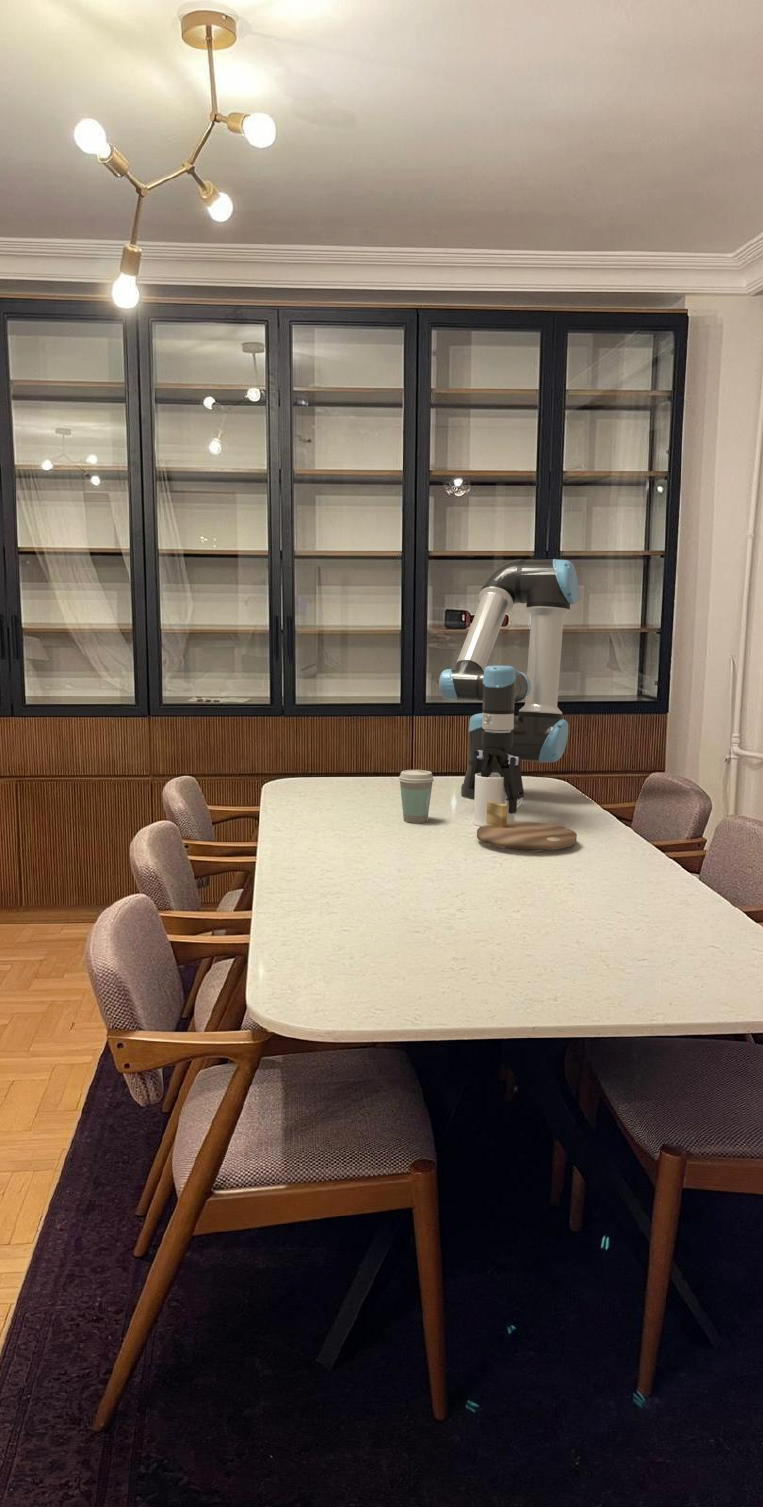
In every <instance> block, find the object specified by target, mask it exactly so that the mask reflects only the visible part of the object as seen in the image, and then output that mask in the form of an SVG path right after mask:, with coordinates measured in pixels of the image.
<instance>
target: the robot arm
mask: <svg viewBox="0 0 763 1507" xmlns="http://www.w3.org/2000/svg"><path fill="white" fill-rule="evenodd" d="M578 579H579V578H578V574H577V571H576V568H575V566H574V564H573V563H572V562H571V561H570V560H567V559H556V558H552V559H551V558H550V559H549V558H548V559H544V558H543V559H514V560H511V561H509V562H506V563H505V564H503V565H501V566H499V567H498V568H497V569H496V570H495V571H494V572H493V573H492V574H490V576H488V578H487V579H486V580H485V582H484V583H483V585H482V587H481V589H480V590H479V594H478V598H477V599H478V603H479V604H478V607H477V609H476V612H475V614H474V617H473V618H472V619H473V620H472V622H471V624H470V628H469V630H468V632H467V635H466V638H465V639H464V643H463V645H462V648H461V651H460V653H459V655H458V657H457V658H458V659H457V660H456V663H455V666H454V668H448V669H447V668H446V669H444V670H443V671H442V672H441V673H440V675H439V680H438V689H439V693H440V695H441V696H442V698H445V699H447V700H455V701H459V700H460V701H461V700H462V701H479V702H480V701H481V702H482V713H481V712H480V713H476V714H473V715H472V716H470V718H469V724H468V731H467V733H468V741H467V742H468V749H467V750H468V752H467V754H468V756H467V768H466V772H465V776H464V779H463V783H462V784H461V786H460V795H461V796H462V795H463V796H462V797H464V796H465V797H464V798H468V799H473V800H475V774H478V773H481V777H487V778H488V777H489V776H490V775H491V773H499V774H500V776H501V777H503V778H504V788H505V791H506V795H507V799H506V800H505V805H507V822H516V820H515V818H516V817H515V814H517V809H518V808H517V804H518V801H519V800H520V798H522V799H523V798H525V792H524V786H523V778H522V772H521V761H523V762H524V761H527V762H535V763H536V762H537V763H541V764H542V763H543V764H544V763H556V762H557V761H559V760H560V759H561V758H562V756H563V754H564V752H565V750H566V747H567V743H568V738H569V723H568V721H567V720H565V719H564V718H563V711H561V710H560V708H559V707H558V700H559V699H558V698H559V686H560V672H561V660H562V659H561V657H562V646H563V645H562V642H563V630H564V618H565V617H566V615H568V614H569V613H570V611H571V605H572V606H573V605H575V604H576V603H577V602H578V600H579V599H578V598H579V581H578ZM515 604H526V607H525V610H526V611H527V613H529V615H530V616H531V618H530V631H529V641H528V642H529V643H528V644H529V645H528V656H527V657H528V658H527V671H526V672H527V674H526V673H524V672H521V671H519V670H516V668H514V666H510V665H488V661H489V659H490V657H491V655H492V651H493V649H494V646H495V644H496V640H497V638H498V635H499V634H500V633H499V632H500V630H501V627H502V625H503V622H504V619H505V617H506V614H507V613H509V612H510V611H512V608H513V606H514V605H515ZM524 699H525V701H524V706H522V707H521V708H520V709H519V710H518V716H514V715H515V703H519V702H521V701H523V700H524Z"/></svg>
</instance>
